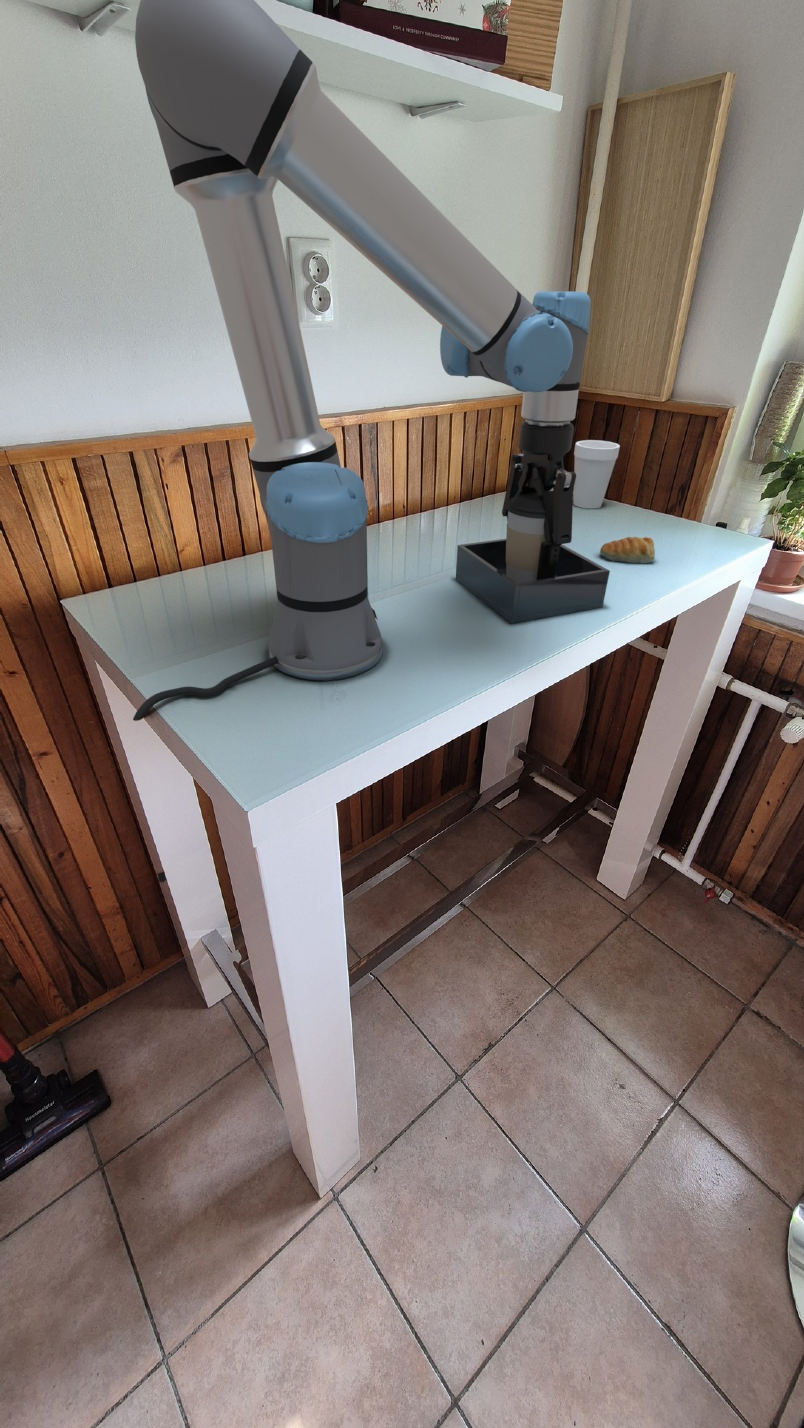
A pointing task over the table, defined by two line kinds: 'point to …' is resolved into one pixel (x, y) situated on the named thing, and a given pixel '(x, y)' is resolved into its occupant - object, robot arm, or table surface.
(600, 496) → the foam cup
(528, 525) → the coffee cup
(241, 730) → the table surface
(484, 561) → the dark grey open box
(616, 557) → the pastry
